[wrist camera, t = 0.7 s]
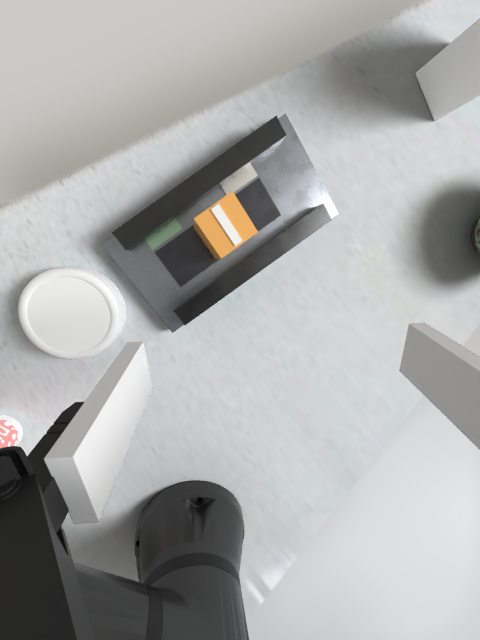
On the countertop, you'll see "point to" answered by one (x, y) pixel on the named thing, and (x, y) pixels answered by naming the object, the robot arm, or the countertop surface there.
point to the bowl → (476, 235)
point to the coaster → (71, 312)
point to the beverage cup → (9, 431)
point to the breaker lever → (224, 226)
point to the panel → (201, 193)
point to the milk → (453, 74)
